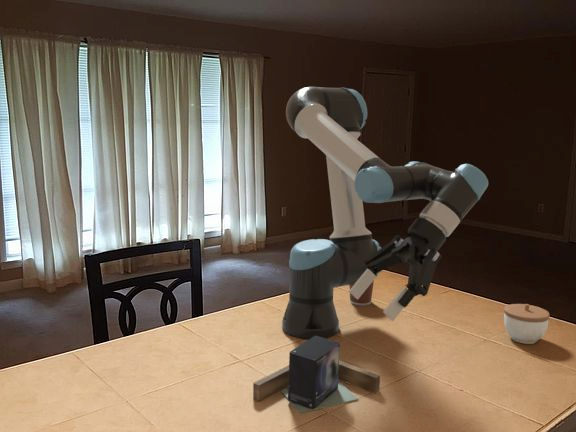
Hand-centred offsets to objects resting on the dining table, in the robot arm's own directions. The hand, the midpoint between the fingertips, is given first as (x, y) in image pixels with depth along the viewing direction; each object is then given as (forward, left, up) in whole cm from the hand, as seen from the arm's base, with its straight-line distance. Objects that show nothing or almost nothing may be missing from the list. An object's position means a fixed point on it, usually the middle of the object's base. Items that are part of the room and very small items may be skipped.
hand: (369, 305), depth 114 cm
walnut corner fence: (-5, -10, -18) cm, 21 cm away
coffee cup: (-31, +44, -18) cm, 57 cm away
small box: (-6, -11, -18) cm, 21 cm away
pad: (-5, -10, -18) cm, 21 cm away
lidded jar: (+16, +49, -18) cm, 55 cm away
